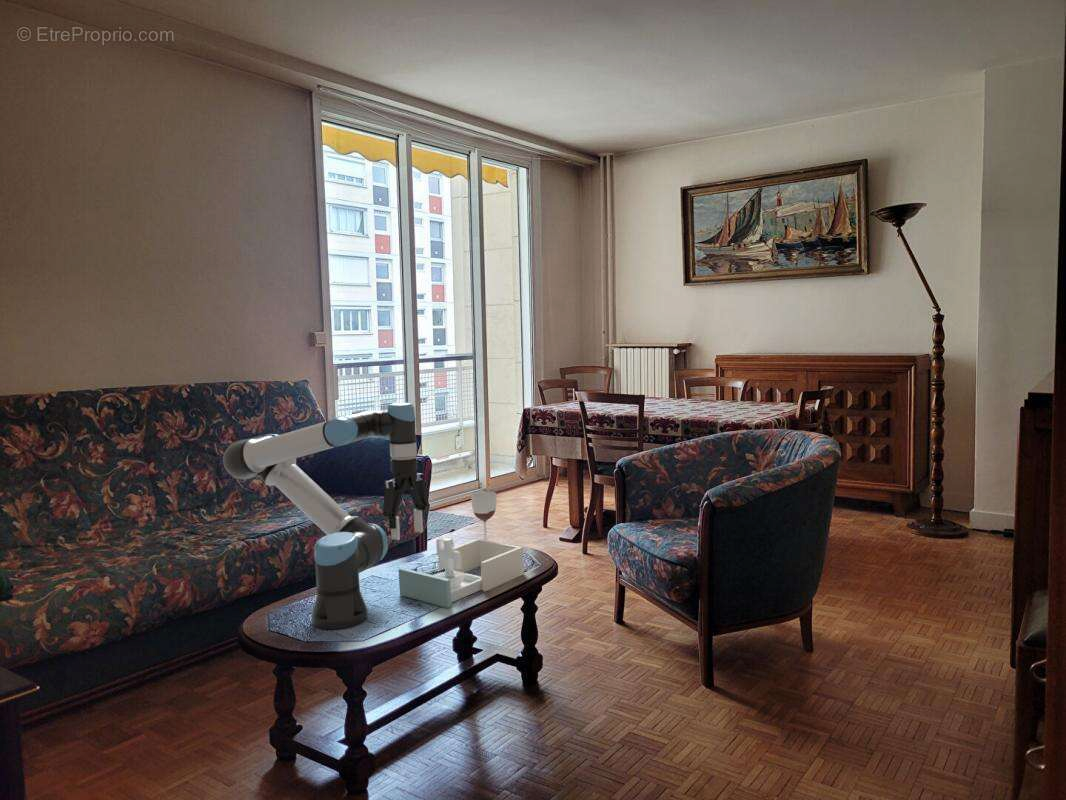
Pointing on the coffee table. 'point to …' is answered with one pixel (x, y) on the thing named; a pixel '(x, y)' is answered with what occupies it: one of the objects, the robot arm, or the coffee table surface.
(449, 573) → the figurine
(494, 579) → the cubby
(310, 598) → the coffee table surface
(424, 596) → the tray
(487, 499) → the wineglass
